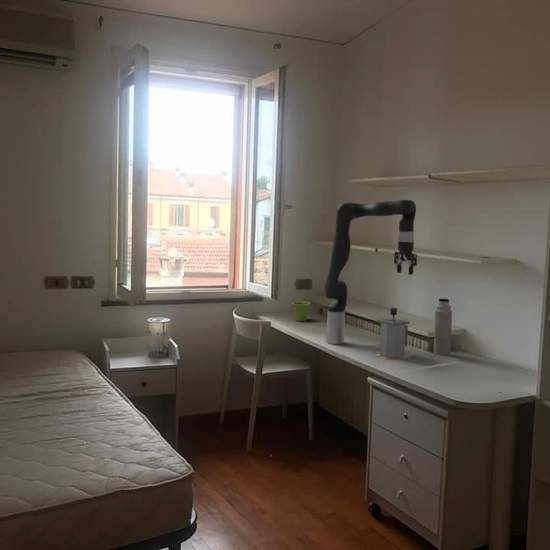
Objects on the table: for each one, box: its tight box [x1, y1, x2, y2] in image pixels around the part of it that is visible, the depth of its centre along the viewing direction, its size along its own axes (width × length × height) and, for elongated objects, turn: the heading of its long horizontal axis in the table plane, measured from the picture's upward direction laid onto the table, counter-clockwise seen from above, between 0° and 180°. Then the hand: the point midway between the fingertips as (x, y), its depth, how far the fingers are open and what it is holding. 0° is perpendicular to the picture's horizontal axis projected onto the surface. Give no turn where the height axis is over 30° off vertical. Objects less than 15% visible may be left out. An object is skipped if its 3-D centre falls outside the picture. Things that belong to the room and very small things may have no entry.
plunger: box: [389, 307, 398, 321], centre depth 298 cm, size 8×8×19 cm
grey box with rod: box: [376, 317, 411, 358], centre depth 300 cm, size 11×14×17 cm
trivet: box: [373, 351, 412, 361], centre depth 300 cm, size 18×18×1 cm
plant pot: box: [291, 301, 310, 322], centre depth 397 cm, size 12×12×11 cm
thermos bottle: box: [433, 298, 453, 357], centre depth 304 cm, size 8×8×28 cm
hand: (404, 273), depth 305 cm, fingers open, 8 cm apart
